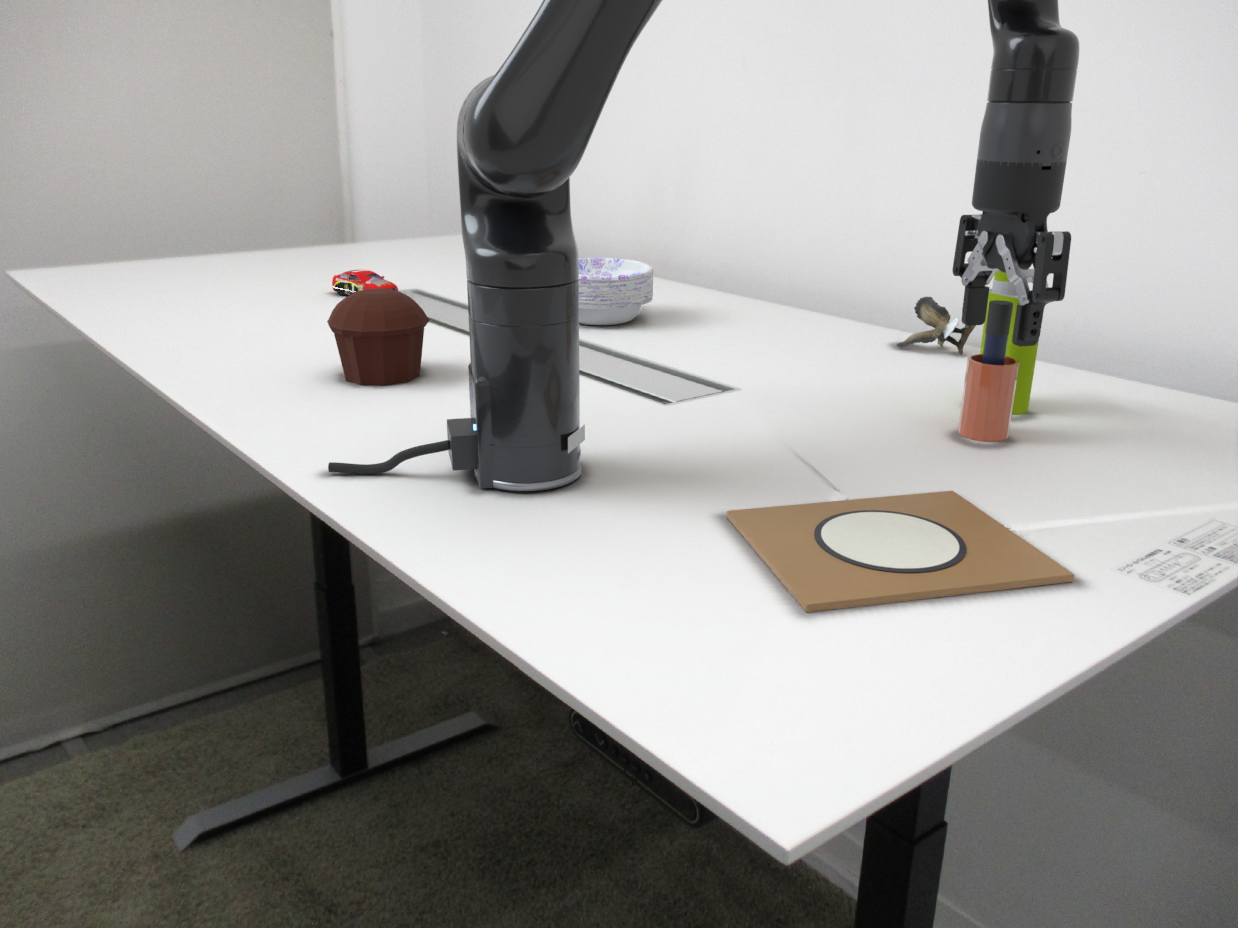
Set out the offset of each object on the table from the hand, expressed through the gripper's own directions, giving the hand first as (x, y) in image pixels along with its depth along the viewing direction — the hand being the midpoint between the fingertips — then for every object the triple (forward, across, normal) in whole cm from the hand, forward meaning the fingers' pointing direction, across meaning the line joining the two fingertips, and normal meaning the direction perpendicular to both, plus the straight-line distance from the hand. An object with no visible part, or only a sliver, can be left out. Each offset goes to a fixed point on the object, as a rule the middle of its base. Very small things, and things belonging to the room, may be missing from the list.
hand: (997, 334), depth 95 cm
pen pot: (+10, 0, 0) cm, 10 cm away
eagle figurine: (+11, -34, +14) cm, 38 cm away
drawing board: (+10, +21, -21) cm, 32 cm away
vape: (+11, -8, +7) cm, 15 cm away
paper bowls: (+10, -61, -25) cm, 67 cm away
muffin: (+10, -36, -57) cm, 68 cm away
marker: (+10, 0, 0) cm, 10 cm away
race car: (+10, -86, -59) cm, 105 cm away
